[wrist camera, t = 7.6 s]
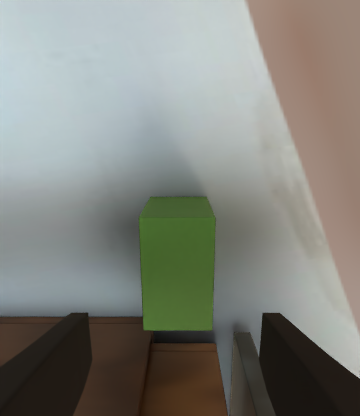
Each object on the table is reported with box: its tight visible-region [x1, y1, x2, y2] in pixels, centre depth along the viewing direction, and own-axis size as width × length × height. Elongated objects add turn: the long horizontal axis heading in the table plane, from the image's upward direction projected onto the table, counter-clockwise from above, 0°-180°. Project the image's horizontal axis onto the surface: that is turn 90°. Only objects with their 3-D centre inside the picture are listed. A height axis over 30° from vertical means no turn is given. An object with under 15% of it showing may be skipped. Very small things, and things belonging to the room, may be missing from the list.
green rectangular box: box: [139, 197, 215, 331], centre depth 17 cm, size 6×4×5 cm, turn 0°
